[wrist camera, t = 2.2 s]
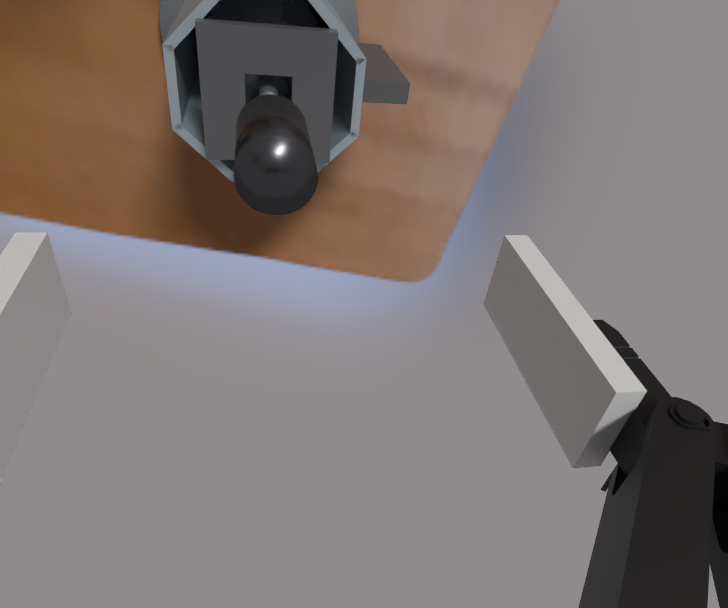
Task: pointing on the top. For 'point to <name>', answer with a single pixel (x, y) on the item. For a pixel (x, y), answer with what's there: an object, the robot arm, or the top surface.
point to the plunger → (271, 120)
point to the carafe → (279, 58)
